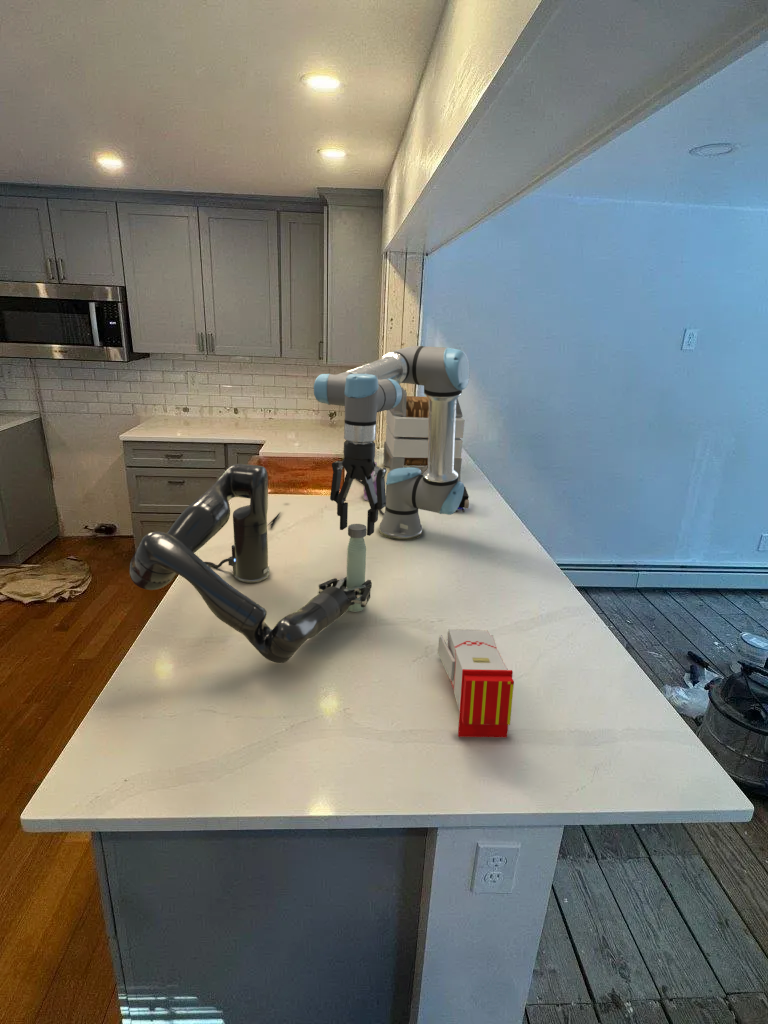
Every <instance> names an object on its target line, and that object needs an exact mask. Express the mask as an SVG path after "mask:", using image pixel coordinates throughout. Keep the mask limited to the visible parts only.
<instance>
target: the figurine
mask: <svg viewBox="0 0 768 1024" xmlns="http://www.w3.org/2000/svg"><path fill="white" fill-rule="evenodd" d="M375 464H376V466H377V467H378V462H377V461H375ZM371 475H372V479H373V481H372V482H373V486H374V489H375V493H376V496H377V488H376V477H377V476H375V471H373V472H372V474H371ZM362 498H363V500H364V501H368V497H367V494H366V490H365V487H364V486H363V495H362Z"/></svg>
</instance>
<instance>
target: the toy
mask: <svg viewBox="0 0 768 1024" xmlns="http://www.w3.org/2000/svg"><path fill="white" fill-rule="evenodd" d="M446 640H447V643H446V641H445V639H444V636H443V635H442V634H439V637H438V646H437V656H438V657H439V659H440V661H441V663H442V666H443V668H444V670H445V672H446V674H447V677H448V679H449V681H450V684H451V687H452V690H453V693H454V697H455V701H456V705H457V708H458V711H459V714H458V715H459V716H458V730H457V731H458V732H457V737H458V738H508V731H509V726H510V725H511V717H512V707H513V697H514V696H513V695H514V684H515V680H514V679H513V673H514V671H513V670H512V669H508V667H507V665H506V662H505V661H504V659H503V658H502V655H501V653H500V651H499V649H498V647H497V643H496V639H495V637H494V635H493V634H491V632H490V631H489V629H467V628H466V629H465V628H463V629H461V628H460V629H459V628H448V630H447V639H446Z"/></svg>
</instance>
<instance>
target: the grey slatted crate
mask: <svg viewBox="0 0 768 1024" xmlns="http://www.w3.org/2000/svg"><path fill="white" fill-rule="evenodd" d="M400 387H401V390H402V398H401V401H400V403H399V404H398V405H397V406H396V407H394V408H392V409H390V410H386V413H385V414H386V415H385V423H386V428H385V438H384V442H383V466H384V467H388V468H389V472H390V471H391V470H393V469H397V468H404V467H405V466H406V467H410V466H411V467H417V466H418V467H428V416H429V398H428V397H427V396H415V395H414V396H413V395H412V396H411V395H407V394H408V393H407V390H406V389H404V388H403V387H402V385H400ZM464 429H465V419H464V418H463V411H462V408H461V405H460V402H459V397H458V398H457V401H456V426H455V452H454V470H455V471H456V472H457V473H458V481H461V472H462V461H463V460H462V453H463V442H464V441H463V440H462V439H463V438H464V431H465V430H464Z"/></svg>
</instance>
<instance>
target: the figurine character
mask: <svg viewBox="0 0 768 1024" xmlns="http://www.w3.org/2000/svg"><path fill="white" fill-rule="evenodd" d="M469 498H470V496H469V494H468V491H467V488H466V486H464V492H463V497H462V500H461V502H460V505H459V507H458V509H457V510H456V511H455V513H458V510H461V511H462V513H465V509H469V506H470V500H469Z"/></svg>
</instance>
